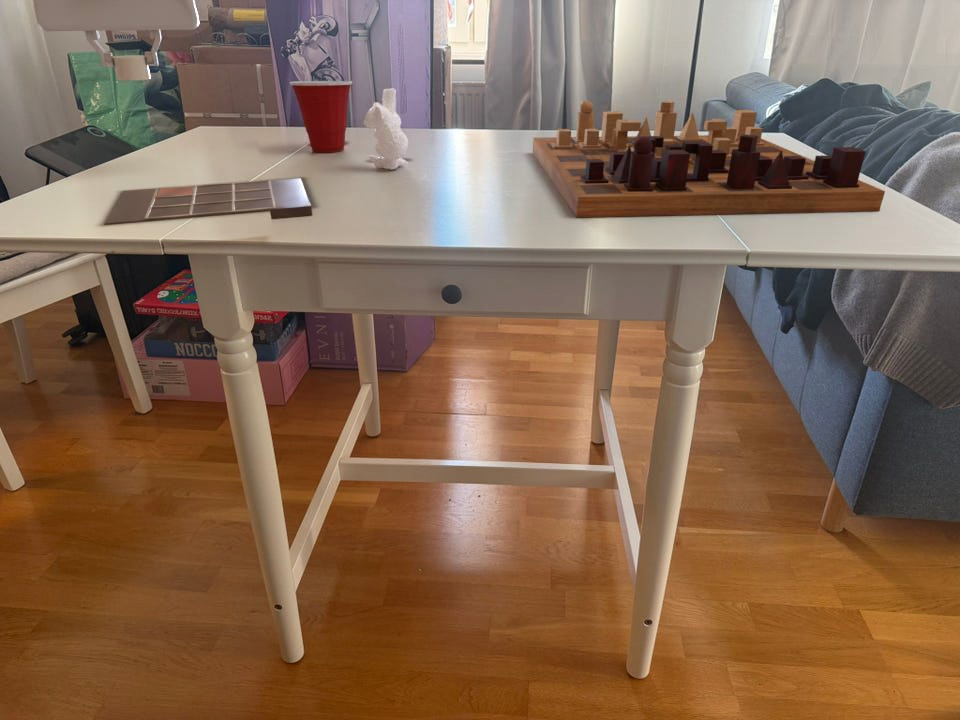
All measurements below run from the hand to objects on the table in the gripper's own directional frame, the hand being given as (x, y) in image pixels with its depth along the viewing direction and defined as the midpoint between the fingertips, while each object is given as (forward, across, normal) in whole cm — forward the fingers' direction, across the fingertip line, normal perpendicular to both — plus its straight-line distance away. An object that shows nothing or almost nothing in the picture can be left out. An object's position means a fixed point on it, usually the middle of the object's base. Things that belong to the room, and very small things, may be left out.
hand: (131, 66), depth 96 cm
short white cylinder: (+2, 0, 0) cm, 2 cm away
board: (+16, +8, -19) cm, 26 cm away
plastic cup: (+16, +28, +14) cm, 35 cm away
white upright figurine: (+16, +36, -4) cm, 39 cm away
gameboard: (+16, +76, -25) cm, 82 cm away
